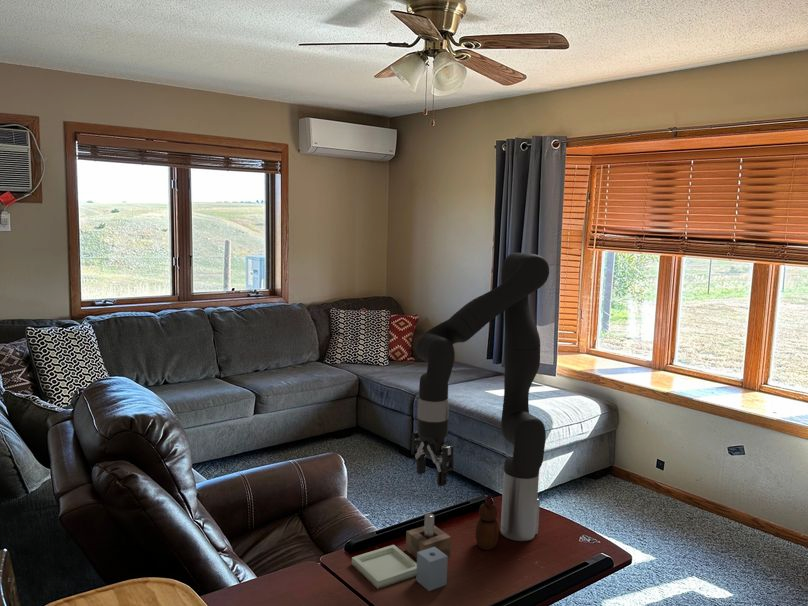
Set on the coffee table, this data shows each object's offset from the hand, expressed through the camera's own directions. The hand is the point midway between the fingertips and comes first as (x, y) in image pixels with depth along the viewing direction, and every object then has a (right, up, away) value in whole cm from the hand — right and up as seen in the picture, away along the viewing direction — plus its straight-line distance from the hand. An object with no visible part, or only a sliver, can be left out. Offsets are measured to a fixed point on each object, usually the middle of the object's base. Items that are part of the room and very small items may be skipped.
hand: (431, 479), depth 158 cm
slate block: (0, -21, -10) cm, 23 cm away
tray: (-11, -20, -5) cm, 23 cm away
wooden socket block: (-1, -19, +3) cm, 19 cm away
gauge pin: (-1, -19, +2) cm, 19 cm away
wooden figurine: (+15, -19, +7) cm, 25 cm away
